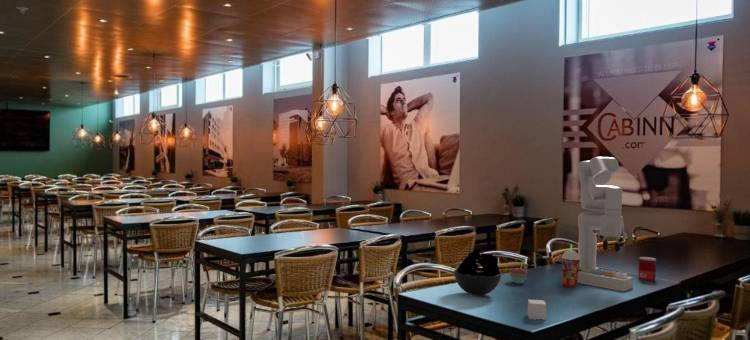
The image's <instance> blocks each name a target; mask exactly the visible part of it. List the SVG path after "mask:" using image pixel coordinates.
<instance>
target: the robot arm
mask: <svg viewBox="0 0 750 340" xmlns="http://www.w3.org/2000/svg"><path fill="white" fill-rule="evenodd" d="M619 165H620V164H619V162H618V159H617V158H615V157H613V156H610V157H609V156H596V157H593V158H591V159H590V160H583V161H579V163H578V165H577V176H578V179H579V182H580V183H579V184H580V205H581V208H582V209H584V210H589V211H584V212H581V213H579V215H578V216H577V226H578V244H577V245H578V246H577V249H578V251H577V254H578V255H579V258H580V263H579V271H583V268H584V267H591V268H594V269H600V268H599V267H598V266H597V253H598V252H597V251H598V250H597V247H598V246H597V245H598V237H599V238H600V239H601V241H602V248H603V251H606V250H608V249H609V248H608V247H609V242H608V238H609V237H612V238H615V241H616V242H615V245H614V246H615V247H614V251H615V252H619V251H620V249H621V243H622V242H623V241H625V240H626V239H627V238H629V237H628V234H627V233H626V231H625V225H624V217H623V215H622V207H623V188H621V187H619V186H616V185H605V184H607V183H609V182H610V181H611V179H612V176H613V175H615V174H617V172H618V171H619V167H620V166H619ZM592 211H593V212H592ZM594 211H601V212H594ZM595 230H596V231H597V232H596V233H595V232H594V231H595ZM597 236H598V237H597Z"/></svg>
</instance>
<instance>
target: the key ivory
mask: <svg viewBox="0 0 750 340" xmlns="http://www.w3.org/2000/svg"><path fill="white" fill-rule="evenodd" d="M627 276H628V273H626V272H620V271H618V272H616V277H615V278H621V279H626V278H627Z"/></svg>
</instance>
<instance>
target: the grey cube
mask: <svg viewBox="0 0 750 340" xmlns="http://www.w3.org/2000/svg"><path fill="white" fill-rule="evenodd" d="M545 301H546V300H540V299H527V313H526V315H527V317H528V319H529V320H536V319H543V320H542V321H546V319H547V303H546V302H545Z"/></svg>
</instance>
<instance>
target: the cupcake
mask: <svg viewBox="0 0 750 340" xmlns="http://www.w3.org/2000/svg"><path fill="white" fill-rule="evenodd" d="M523 263H524V259H521V264H520V267H513V268H512V269H510V270H509V276H511V278H512V279H511V280H512V282H513V283H514V284H523V283H524V282H525V279H526V277H528V271H527V270H526V269H524V268H523Z"/></svg>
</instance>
